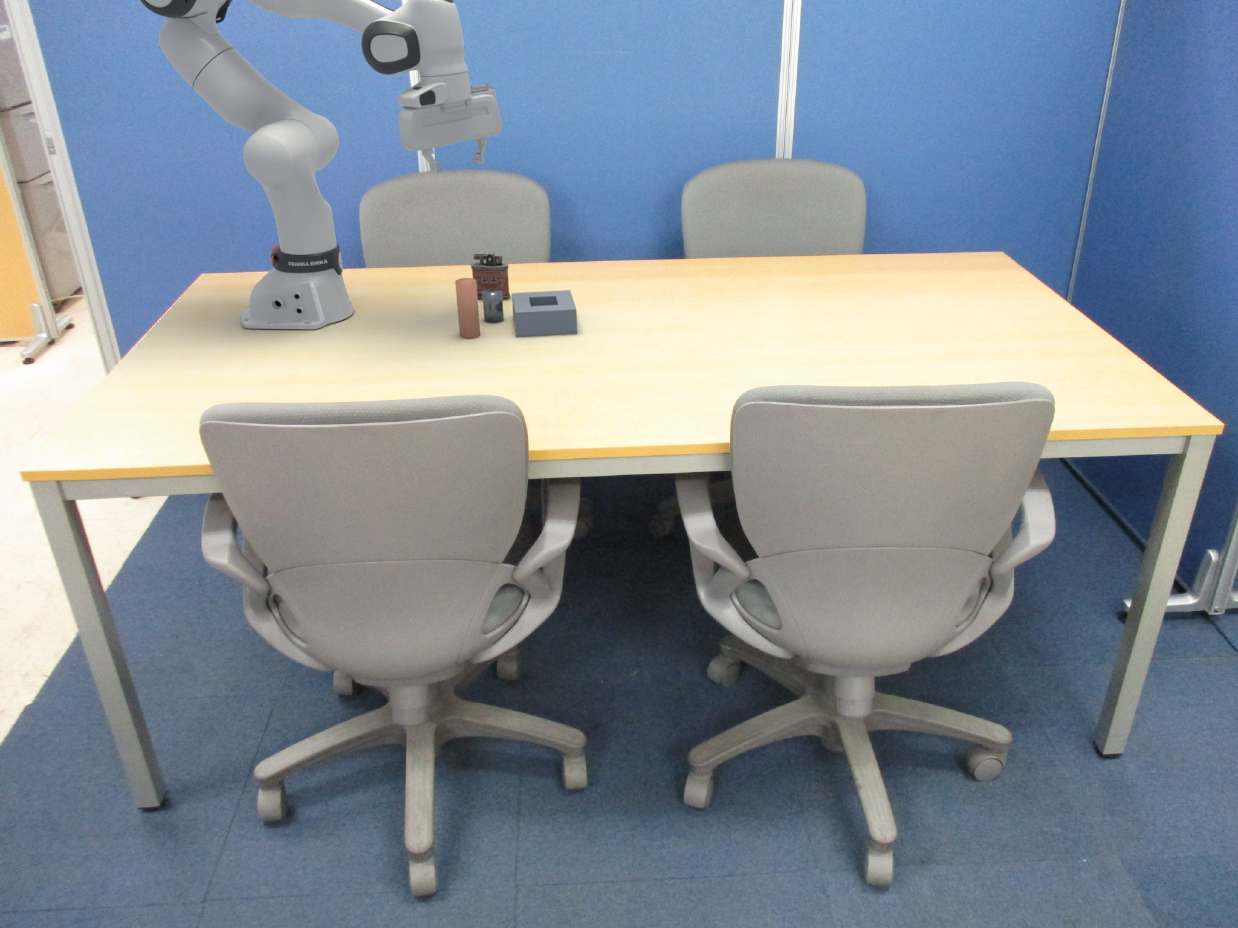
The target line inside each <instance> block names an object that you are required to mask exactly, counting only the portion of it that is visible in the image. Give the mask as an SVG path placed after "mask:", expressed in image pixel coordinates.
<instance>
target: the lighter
mask: <svg viewBox="0 0 1238 928" xmlns="http://www.w3.org/2000/svg"><path fill="white" fill-rule="evenodd" d="M473 260H475V261H476V260H477V261H479V262H477V261H476V262H472V263H470V267H471V271H472V273H471V274H472V279H475V280H476V284H477V297H478V301H479V300H480V301H483V295H482V292H483V291H484V290H487V289H500V290H502V297H503V301H509V300H510V299H511V293H510V287H509V270H508V269H509V264H508V263H506V262H503V254H501V253H496V254H495V253H494V252H493V251H489V252H488V253H485V252H474V253H473Z"/></svg>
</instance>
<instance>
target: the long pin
mask: <svg viewBox="0 0 1238 928" xmlns="http://www.w3.org/2000/svg"><path fill="white" fill-rule="evenodd" d="M454 283H455V293H456V295H455V296H456V304H457V317H458V327H459V328H458V329H459V336H460V337H459V338H461V339H467V340H471V339H476V338H480V336H481V328H480V326H481V325H480V314H479V312H480V311H479V300H478V297H477V284H476V280H475V279H473V277H462V278H459V279H456V280H455V282H454Z"/></svg>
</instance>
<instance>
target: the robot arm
mask: <svg viewBox="0 0 1238 928" xmlns="http://www.w3.org/2000/svg"><path fill="white" fill-rule="evenodd" d="M139 1H140V2H141V4H142V5H144V7H145V8H147V9H148V10H149V11H151V13H154V14H156V15H158V16H161V17H164V18H166V21H165V22H164V23H163V25H162V26H161V28H160V30H159V33H158V45H159V48H160V50H161V51H162V53H163V54H164V56H165V57H166V58H167V60H168V61H169V63H170V65H172V67H173V68H174V69H175V70H176V72H177V73H178V74H179V75H180V77H181V78H182V79H183V80H184V81H185V82H186V83H187V84H188V85H189V86H190V87H191V89H193V91H195V92H196V93H197V95H198V96H200V97H201V98H202V99H203V101H204V102H206V103H207V104H208V105H209V107H211V109H213V110H214V111H215V112H216V113H217V115H218V116H220V117H221V118H222V119H223V120H224V121H225V122H227V123H228V124H230V125H232V126H235V127H238V128H240V129H241V130H244V131H246V132H248V133H250V134H251V136H250V137H248V139H247V140H246V142H245V144H244V145H243V149H242V158H243V163H244V167H245V168H246V170H247V172H248V173H249V174H250V175H251V177H252V178H253V179H254V180H256V181H257V182H258V183H259V184H260V185H261V186H262V189H263V191H264V193H265V194H266V197H267V200H268V202H269V204H270V207H271V209H272V213H273V216H274V220H275V221H274V222H275V227H276V231H277V238H278V244H279V245H278V244H276V245H273V248H272V249H271V252H270V253H271V254H270V261H271V264H272V267H273V268H271V269H270V270H269V271H268V272H267V273H266V274H264V276H263V277H262V278H261V279H259V280H258V282H256V284H254V286H253V287H252V289H251V292H250V296H249V297H250V298H249V306H247V308H245V309H244V310H243V311H242V313H241V316H240V324H241V326H242V327H243V328H245V329H251V330H252V329H253V330H254V329H256V330H257V329H265V330H317V329H321V328H323V327H325V326H327V325H329V324H333V323H338V322H339V321H342V320H343V321H344V319H347V318H349V317H351V316H352V315H353V314H354V312H355V308H354V305H353V304H352V302H351V299H350V297H349V294H348V291H347V288H346V284H345V281H344V276H343V271H344V270H343V269H344V265H343V259H342V258H343V257H342V252H341V249H340V245H339V244H338V243H337V237H336V236H337V235H336V231H335V223H334V217H333V216H334V215H333V209H332V206H331V205H330V204H329V202H328V201H327V200H325V198H324V197H323V195H322V193H321V190H320V189H319V186H318V185H319V184H318V183H317V180H316V172H318V171H320V170H322V169H324V168H325V167H327V166H328V165H329V164H330V163H331V161H332V160H333V159H334V158H335V156H336V154H337V153H338V151H339V147H340V137H339V133H338V130H337V128H336V127H335V125H334V124H333V123H332V122H331V120H329V118H327V117H325V116H322V115H320V114H318V113H315V112H313V111H311V110H309V109H308V108H306V107H305V106H303V105H302V104H300V103H299V102H298V101H296V100H294V99H293V98H292V97H290V96H289V95H287V94H286V93H285V92H283V91H282V90H281V89H280V88H278V87H276V86H275V85H273V83H271V82H270V81H269V80H268V79H267V78H266V77H264V76H263V74H261V73H260V72H259V71H258V70H257V69H256V68H255V67H254V66H253V64H251V62H249V60H247V58H246V57H244V56H243V54H241V52H239V50H238V49H237V48H235V47H234V45H233V44H232V43H231V42H230V41H229V40H227V38H226V37H225V36H224V35H223V34H222V33H221V32H220V30H219V28H218V27H217V26H218V25H217V24H220V23H222V22H223V21H224V20H225V19H226V15H227V13H228V9H229V7H230V6H231V3H232V2H233V0H139ZM245 1H246V2H248V3H250V4H252V5H254V6H255V7H257V8H259V9H262V10H264V11H266V12H268V13H271V14H273V15H277V16H280V17H283V18H288V19H289V18H290V19H321V20H327V21H332V22H335V23H338V24H341V25H343V26H345V27H347V28H349V29H351V30H353V31H355V32H357V33H359V34H361V35H362V37H361V40H360V41H361V50H362V54H363V57H364V59H365V62H366V63H367V64H368V65H369V67H370V68H372V69H373V70H374V72H377V73H379V74H382V75H387V76H397V75H402V74H405V73H410V72H411V71H417V72H418V74H419V82H417V83H415V84H414V85H412V86H410V87H409V88H407V89H405V90H404V91H402V92H401V93H398V95H397V103H398V104H399V106H400V107H402V108H401V109H400V110H399V113H398V128H399V130H398V131H399V138H400V142H401V143H400V144H401V146H402V147H403V148H404V149H405V150H406V151H409V152H420V151H421V155H422V156H423V158H424V159H425V160H426V161H427V163H428V164H429V169H430V172H431V173H432V174H437V173H441V172H442V171H443V168H442V163H441V162H440V161H437V160H436V159H435V158H434V157H433V155H434V154H435V152H434V149H435V148H438V147H445V146H449V145H453V144H460V143H464V142H468V141H474V142H475V144H477V147H476V151H475V152H474V153H472V160H473V163H474V164H476V165H479V164H484V163H485V152H486V149H487V146H488V137H493V136H498V135H501V132H502V130H503V122H502V117H501V112H500V109H499V105H498V98H497V97H498V96H497V92H496V89H494V87H493V86H491V85H489V84H487V83H483V84H479V85H471V81H470V74H469V69H468V66H467V63H466V60H465V55H464V54H465V53H464V51H465V39H464V33H463V27H462V24H461V19H460V18H461V17H460V14H459V11H458V8H457V5H456V3H455V1H454V0H407V1H406V2H405V3H403V4H402V5H401V6H400V7H398V8H396V9H392V8H389V7H387V6H384V5H383V4H381V3H378V2H377V1H375V0H245Z"/></svg>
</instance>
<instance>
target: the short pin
mask: <svg viewBox="0 0 1238 928" xmlns="http://www.w3.org/2000/svg"><path fill="white" fill-rule="evenodd" d="M482 295H483V300H482V307H483V321H484V322H485V323H487V324H499V323H501V322H504V320H505V315H504V303H503V302H504V300H503V297H502V290H500V289H487V290H484V291H483V292H482Z"/></svg>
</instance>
